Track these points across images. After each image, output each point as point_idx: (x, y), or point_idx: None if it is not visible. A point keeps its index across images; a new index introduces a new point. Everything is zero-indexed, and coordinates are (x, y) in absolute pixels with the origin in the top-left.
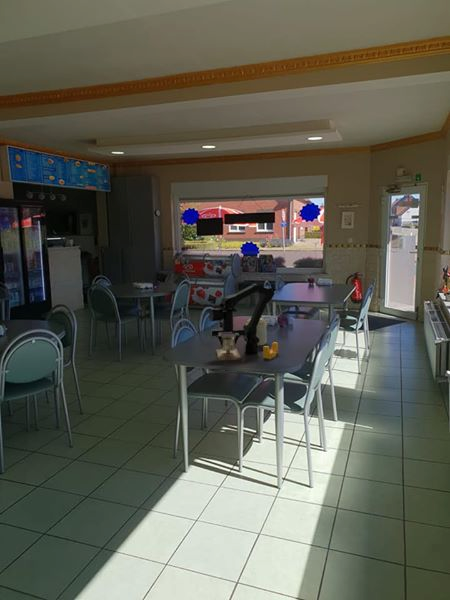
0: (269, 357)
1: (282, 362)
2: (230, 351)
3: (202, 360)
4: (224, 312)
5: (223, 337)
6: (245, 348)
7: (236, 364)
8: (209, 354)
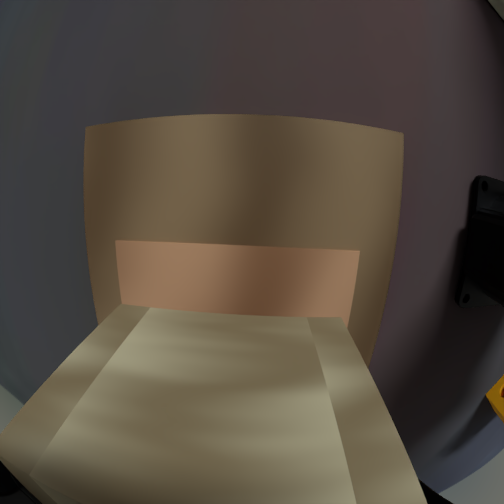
0: (497, 414)
1: (491, 442)
2: (282, 276)
3: None
4: None
5: (41, 491)
6: (488, 286)
7: None
8: (40, 251)
